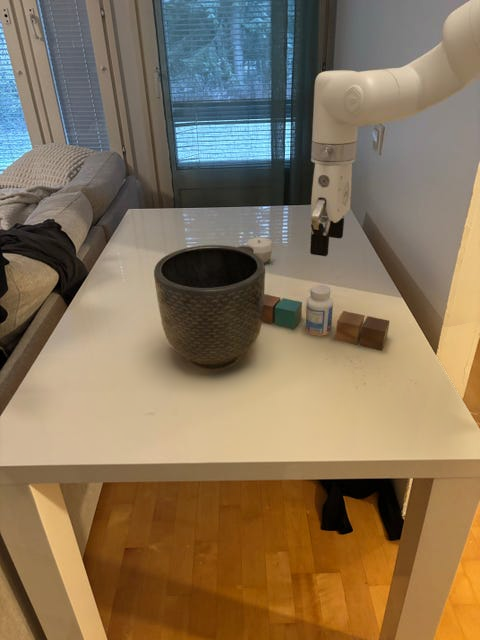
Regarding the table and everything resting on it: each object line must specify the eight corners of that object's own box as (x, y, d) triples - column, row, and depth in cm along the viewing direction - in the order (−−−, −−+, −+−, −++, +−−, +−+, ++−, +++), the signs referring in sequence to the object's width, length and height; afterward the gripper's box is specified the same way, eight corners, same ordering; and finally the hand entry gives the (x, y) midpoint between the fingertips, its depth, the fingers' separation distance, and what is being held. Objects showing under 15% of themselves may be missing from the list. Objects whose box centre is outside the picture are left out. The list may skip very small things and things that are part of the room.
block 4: (386, 339, 95) (389, 320, 93) (382, 350, 92) (385, 331, 90) (364, 334, 97) (367, 315, 95) (359, 345, 94) (362, 326, 91)
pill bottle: (321, 320, 102) (324, 280, 97) (335, 332, 98) (340, 291, 93) (300, 326, 100) (302, 286, 95) (314, 339, 96) (317, 297, 91)
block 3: (362, 333, 97) (364, 315, 95) (356, 344, 94) (359, 325, 92) (341, 329, 99) (343, 310, 97) (335, 339, 96) (337, 320, 93)
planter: (255, 390, 82) (256, 295, 72) (150, 379, 86) (136, 286, 76) (269, 331, 99) (271, 247, 89) (180, 323, 102) (172, 241, 92)
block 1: (280, 315, 104) (280, 297, 102) (272, 324, 101) (272, 306, 99) (261, 310, 106) (261, 293, 104) (253, 320, 103) (253, 302, 100)
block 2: (301, 319, 103) (302, 302, 100) (293, 329, 99) (294, 311, 97) (282, 315, 104) (282, 297, 102) (274, 325, 101) (274, 307, 99)
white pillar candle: (239, 263, 129) (239, 241, 125) (254, 253, 134) (254, 232, 131) (264, 269, 125) (264, 247, 122) (278, 259, 131) (279, 237, 127)
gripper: (341, 163, 72) (333, 265, 81) (367, 144, 85) (357, 233, 94) (295, 160, 75) (292, 259, 84) (327, 142, 88) (321, 229, 97)
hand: (326, 245), depth 89 cm, fingers open, 9 cm apart
